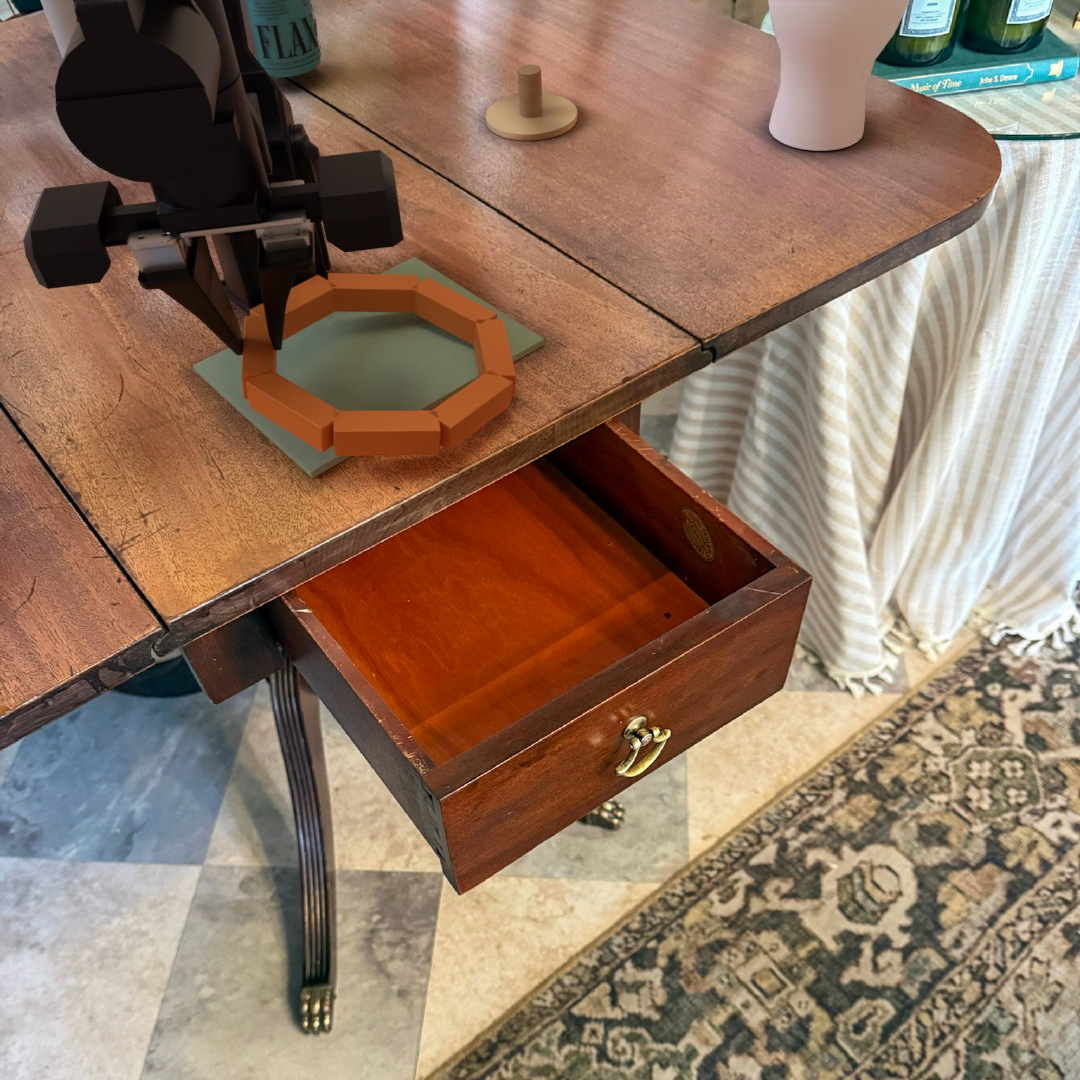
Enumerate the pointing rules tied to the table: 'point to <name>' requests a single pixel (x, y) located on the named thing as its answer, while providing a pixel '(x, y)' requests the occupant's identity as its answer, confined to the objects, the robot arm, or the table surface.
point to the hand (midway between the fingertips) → (260, 348)
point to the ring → (379, 428)
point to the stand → (531, 111)
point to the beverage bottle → (284, 36)
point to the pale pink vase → (827, 67)
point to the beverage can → (61, 21)
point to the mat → (366, 365)
